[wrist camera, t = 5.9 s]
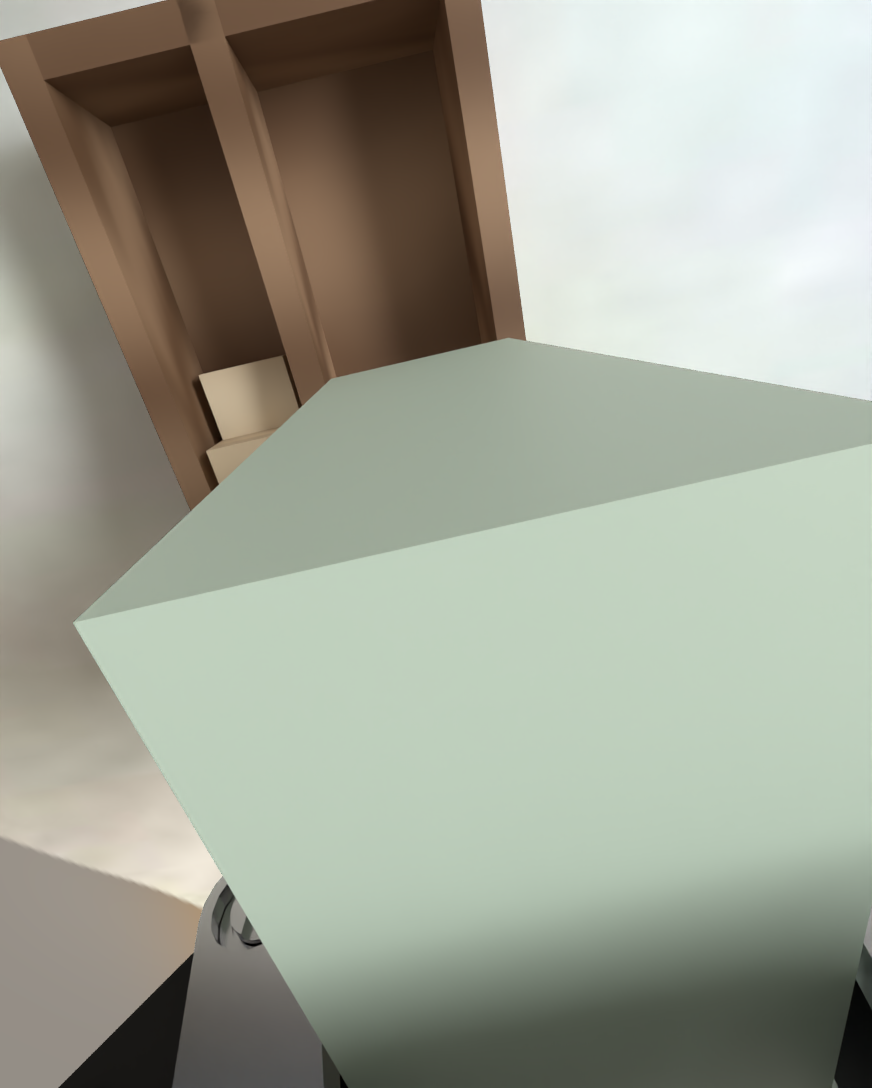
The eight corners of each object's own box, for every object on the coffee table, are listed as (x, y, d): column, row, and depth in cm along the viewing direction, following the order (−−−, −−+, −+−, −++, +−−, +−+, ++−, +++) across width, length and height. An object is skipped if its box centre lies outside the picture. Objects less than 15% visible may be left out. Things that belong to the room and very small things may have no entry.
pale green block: (331, 378, 11) (72, 621, 2) (508, 337, 11) (977, 419, 2) (434, 744, 16) (489, 1324, 7) (562, 717, 16) (793, 1266, 7)
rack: (92, 115, 15) (-10, 42, 11) (451, 28, 15) (470, -75, 11) (352, 790, 26) (344, 870, 22) (560, 744, 26) (589, 817, 22)
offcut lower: (215, 371, 17) (197, 375, 16) (291, 353, 17) (282, 355, 16) (300, 603, 21) (292, 624, 19) (363, 589, 21) (361, 609, 19)
